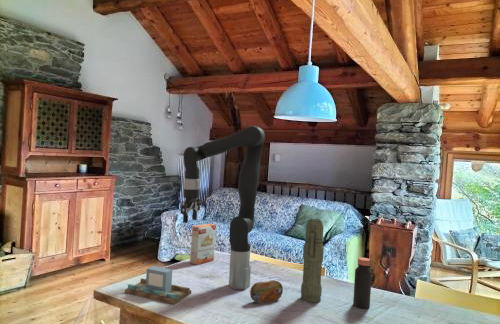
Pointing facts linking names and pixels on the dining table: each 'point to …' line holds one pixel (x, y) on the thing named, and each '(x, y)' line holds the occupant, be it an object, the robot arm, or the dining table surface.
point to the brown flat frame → (158, 292)
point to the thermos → (312, 262)
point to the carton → (159, 278)
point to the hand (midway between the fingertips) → (189, 221)
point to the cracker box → (202, 243)
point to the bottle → (362, 284)
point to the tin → (266, 291)
